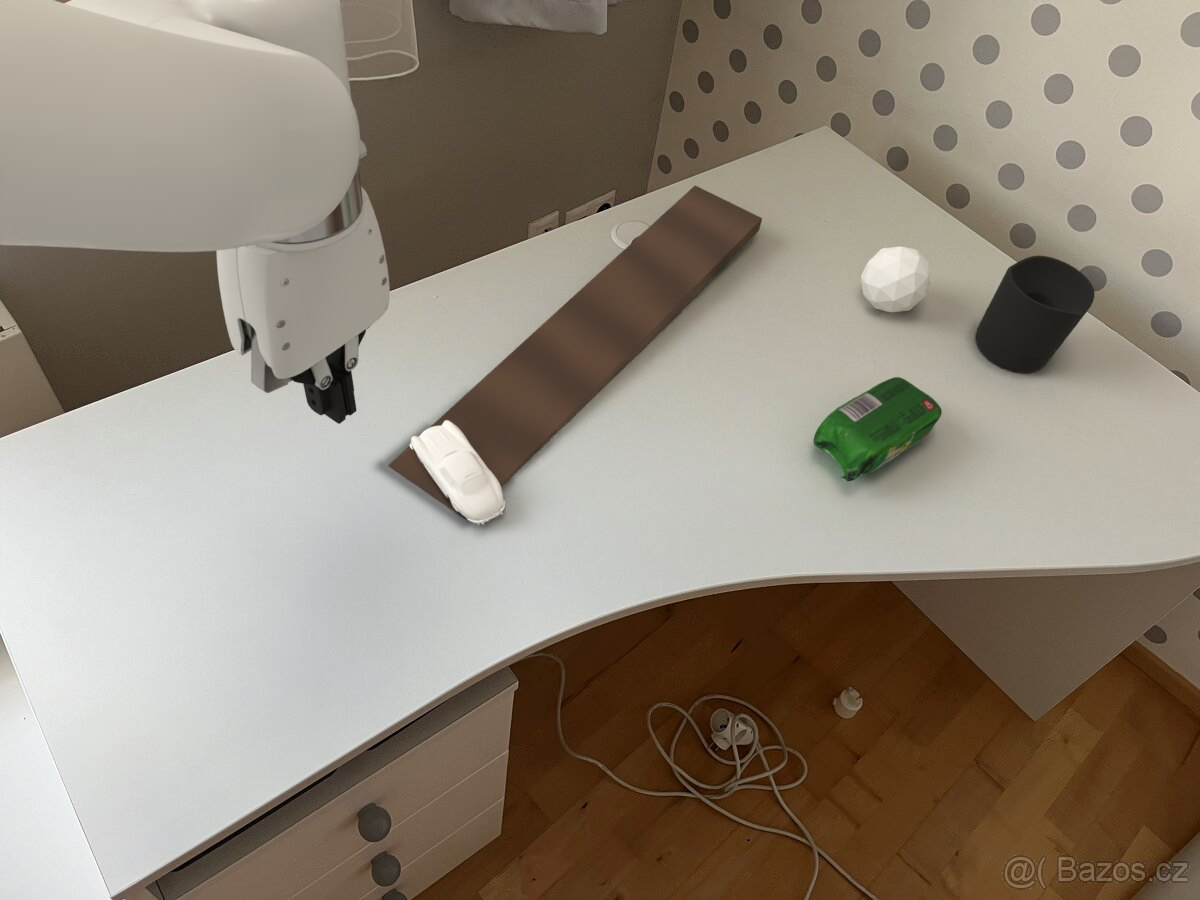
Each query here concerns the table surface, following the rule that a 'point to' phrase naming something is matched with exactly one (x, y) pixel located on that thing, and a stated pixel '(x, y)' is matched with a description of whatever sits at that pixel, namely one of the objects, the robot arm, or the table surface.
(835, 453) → the snack package
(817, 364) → the table surface
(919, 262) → the geometric ball
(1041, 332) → the pen holder
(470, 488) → the toy car
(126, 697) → the table surface
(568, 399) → the ramp
